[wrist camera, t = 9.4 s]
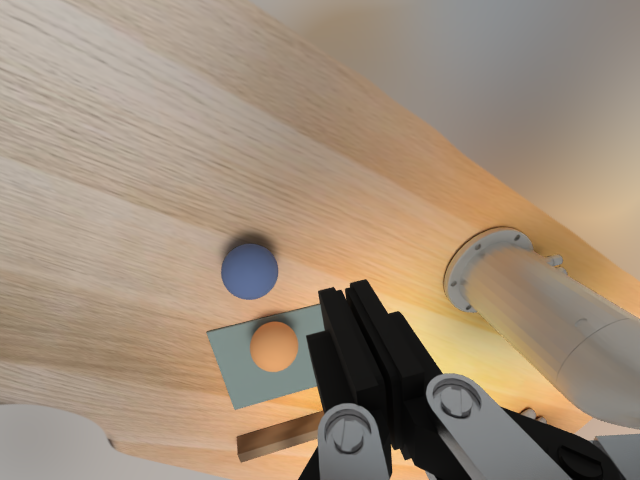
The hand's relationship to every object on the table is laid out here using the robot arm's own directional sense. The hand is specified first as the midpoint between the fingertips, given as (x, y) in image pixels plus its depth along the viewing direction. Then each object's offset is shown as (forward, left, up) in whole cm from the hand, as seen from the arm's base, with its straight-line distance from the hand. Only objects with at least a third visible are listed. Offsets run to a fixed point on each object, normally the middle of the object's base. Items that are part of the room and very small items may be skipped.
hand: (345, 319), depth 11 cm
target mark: (+3, +25, -22) cm, 33 cm away
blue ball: (+4, +9, -19) cm, 22 cm away
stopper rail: (+3, +39, -22) cm, 45 cm away
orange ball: (+3, +20, -19) cm, 28 cm away
